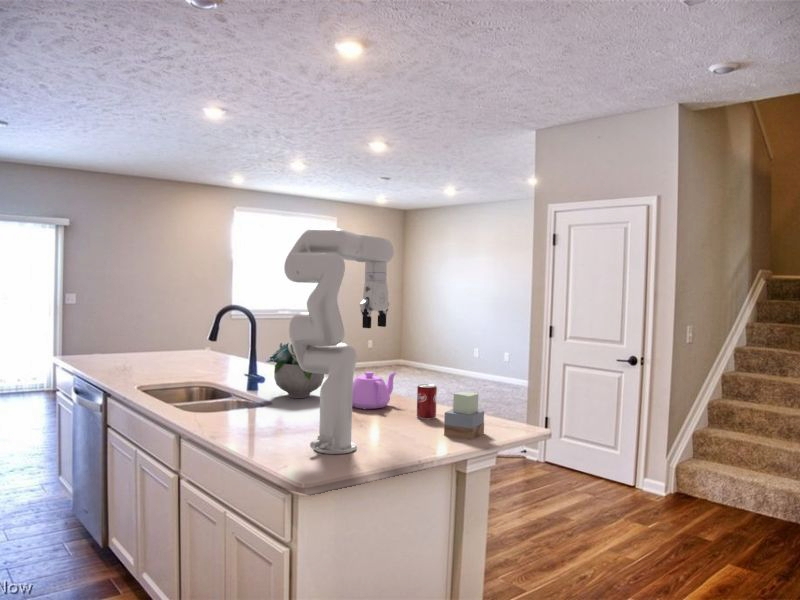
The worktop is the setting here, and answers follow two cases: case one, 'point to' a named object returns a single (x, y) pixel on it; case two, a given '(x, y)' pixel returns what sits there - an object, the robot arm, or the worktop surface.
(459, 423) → the block top
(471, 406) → the sage block
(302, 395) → the flower arrangement
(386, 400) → the teapot
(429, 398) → the soda can
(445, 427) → the block bottom
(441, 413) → the worktop surface
